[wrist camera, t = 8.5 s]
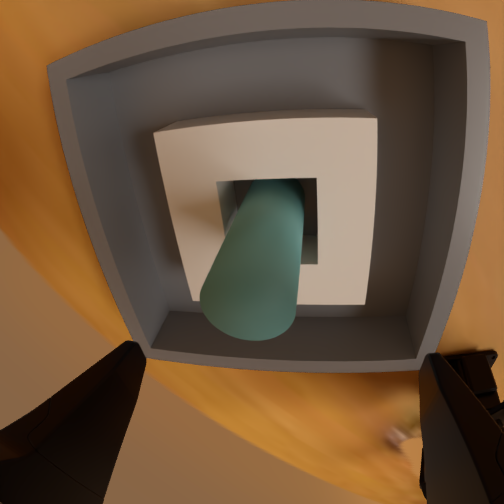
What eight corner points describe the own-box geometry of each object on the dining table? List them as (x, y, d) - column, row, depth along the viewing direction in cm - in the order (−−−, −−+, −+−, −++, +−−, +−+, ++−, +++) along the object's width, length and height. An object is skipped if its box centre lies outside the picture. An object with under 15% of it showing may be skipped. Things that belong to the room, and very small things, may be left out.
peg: (306, 223, 18) (296, 342, 11) (251, 223, 19) (209, 337, 12) (303, 170, 17) (294, 267, 9) (245, 172, 17) (190, 266, 10)
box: (414, 318, 22) (427, 369, 18) (164, 312, 26) (141, 357, 22) (443, 28, 12) (486, 21, 7) (100, 58, 16) (46, 65, 11)
